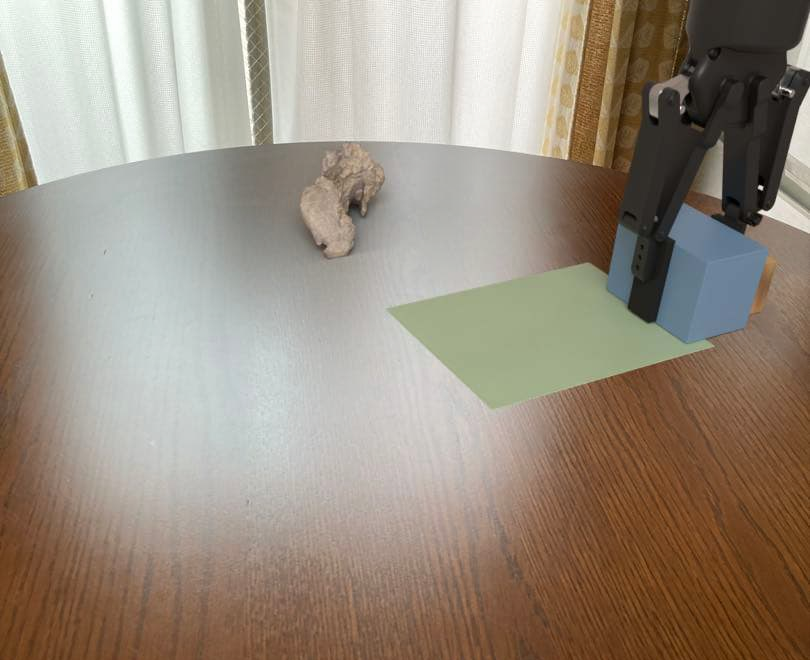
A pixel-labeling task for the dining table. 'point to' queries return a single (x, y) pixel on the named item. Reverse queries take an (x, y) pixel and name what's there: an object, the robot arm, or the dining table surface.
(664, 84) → the robot arm
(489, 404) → the tray
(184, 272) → the dining table surface
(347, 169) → the rock
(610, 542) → the dining table surface
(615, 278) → the sponge
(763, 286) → the cork block
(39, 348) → the dining table surface
